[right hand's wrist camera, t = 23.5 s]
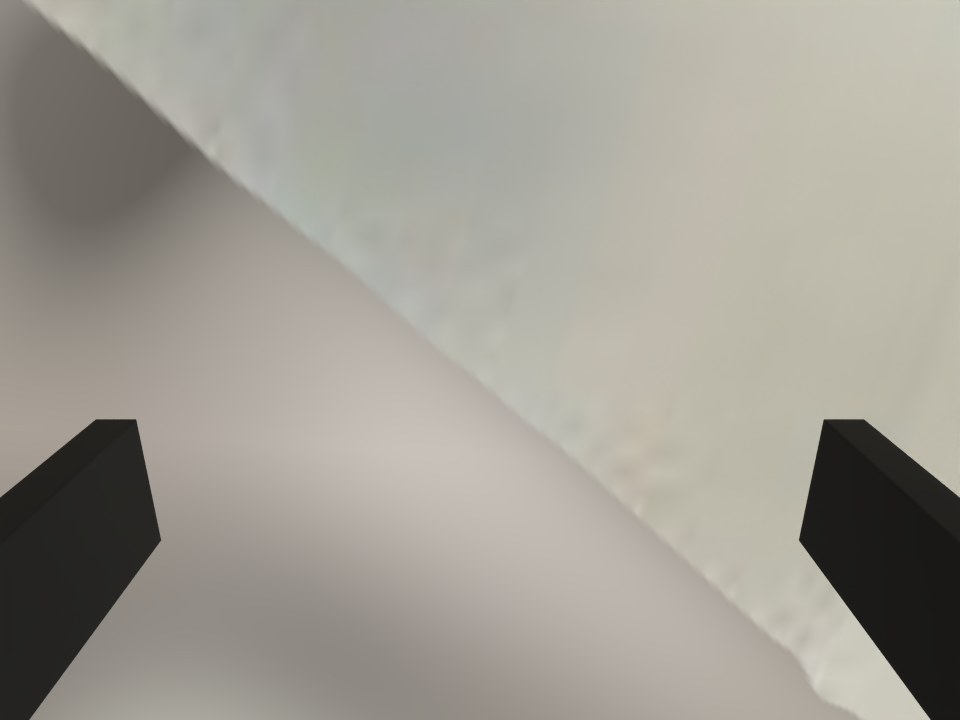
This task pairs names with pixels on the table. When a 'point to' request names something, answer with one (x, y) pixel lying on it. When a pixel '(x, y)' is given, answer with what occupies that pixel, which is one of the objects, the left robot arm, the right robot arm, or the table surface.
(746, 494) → the table surface
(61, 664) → the right robot arm
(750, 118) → the table surface
